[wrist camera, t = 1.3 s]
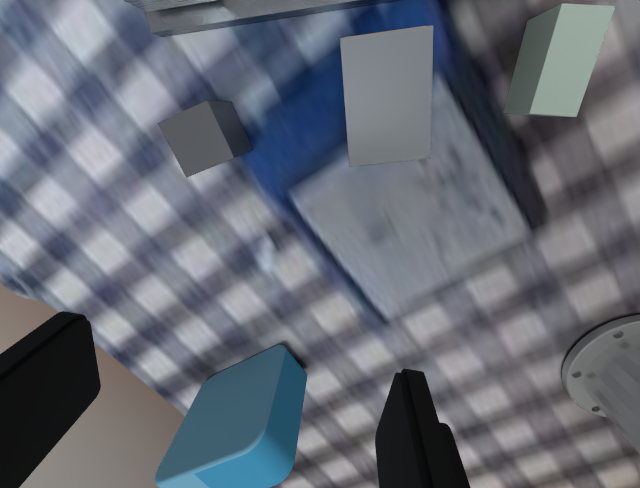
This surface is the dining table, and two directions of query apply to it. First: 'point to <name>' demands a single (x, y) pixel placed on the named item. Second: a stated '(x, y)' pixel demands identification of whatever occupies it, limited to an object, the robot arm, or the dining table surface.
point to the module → (388, 95)
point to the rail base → (230, 12)
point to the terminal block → (557, 60)
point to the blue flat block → (240, 427)
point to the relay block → (205, 136)
